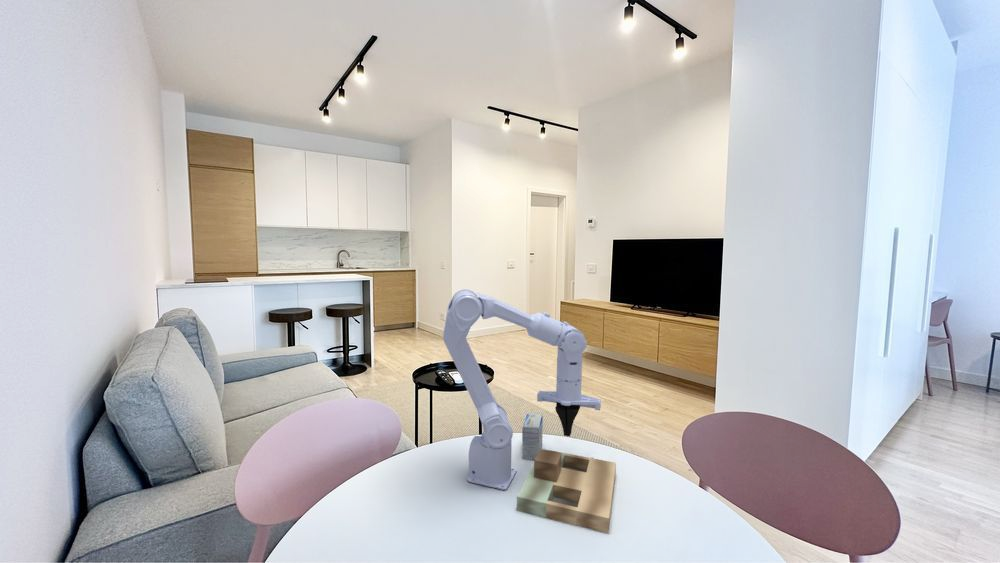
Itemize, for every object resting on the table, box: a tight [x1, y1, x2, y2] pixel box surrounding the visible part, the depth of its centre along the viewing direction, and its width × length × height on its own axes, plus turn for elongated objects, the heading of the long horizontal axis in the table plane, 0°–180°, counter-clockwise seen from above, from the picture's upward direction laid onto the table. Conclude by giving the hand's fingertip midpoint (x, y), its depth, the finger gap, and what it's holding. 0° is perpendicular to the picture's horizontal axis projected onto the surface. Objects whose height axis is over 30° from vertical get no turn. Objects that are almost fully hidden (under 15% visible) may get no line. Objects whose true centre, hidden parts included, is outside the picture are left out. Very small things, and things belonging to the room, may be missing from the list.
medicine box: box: [521, 413, 544, 461], centre depth 101 cm, size 8×4×9 cm, turn 168°
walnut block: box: [533, 448, 563, 482], centre depth 87 cm, size 5×5×4 cm
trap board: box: [516, 448, 617, 534], centre depth 85 cm, size 18×20×3 cm
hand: (567, 434), depth 92 cm, fingers closed
